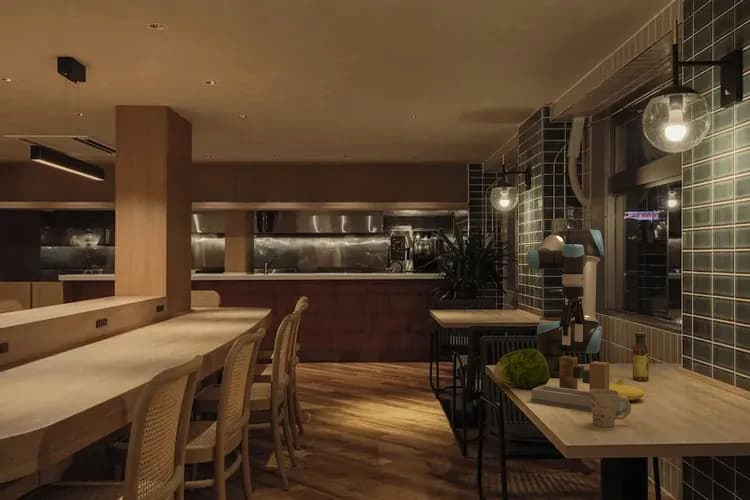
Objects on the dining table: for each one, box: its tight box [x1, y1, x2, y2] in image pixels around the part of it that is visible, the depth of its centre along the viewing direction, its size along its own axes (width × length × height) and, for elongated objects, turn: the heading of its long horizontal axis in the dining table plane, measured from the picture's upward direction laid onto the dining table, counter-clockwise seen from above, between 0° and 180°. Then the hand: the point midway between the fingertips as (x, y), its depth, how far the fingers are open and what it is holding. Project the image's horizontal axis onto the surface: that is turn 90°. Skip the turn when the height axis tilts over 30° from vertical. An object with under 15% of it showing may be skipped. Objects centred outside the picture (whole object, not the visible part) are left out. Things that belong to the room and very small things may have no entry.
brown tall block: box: [558, 355, 585, 390], centre depth 235 cm, size 8×5×14 cm, turn 53°
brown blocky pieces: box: [530, 360, 628, 416], centre depth 218 cm, size 30×10×16 cm, turn 53°
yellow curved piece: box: [609, 378, 645, 402], centre depth 230 cm, size 16×16×7 cm
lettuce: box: [493, 348, 551, 389], centre depth 250 cm, size 16×21×15 cm
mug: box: [588, 389, 632, 428], centre depth 194 cm, size 8×13×10 cm, turn 95°
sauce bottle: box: [632, 332, 650, 382], centre depth 267 cm, size 6×6×20 cm
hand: (572, 343), depth 236 cm, fingers open, 13 cm apart
